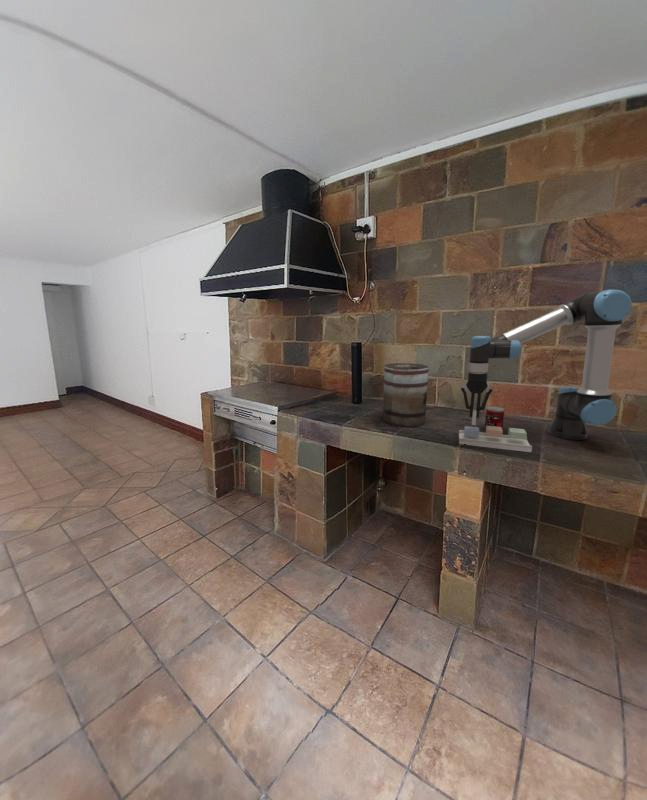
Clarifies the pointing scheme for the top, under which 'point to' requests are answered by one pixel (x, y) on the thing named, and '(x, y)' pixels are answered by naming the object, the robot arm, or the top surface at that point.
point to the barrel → (405, 394)
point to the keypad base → (495, 442)
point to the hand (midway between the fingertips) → (473, 424)
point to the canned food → (494, 417)
